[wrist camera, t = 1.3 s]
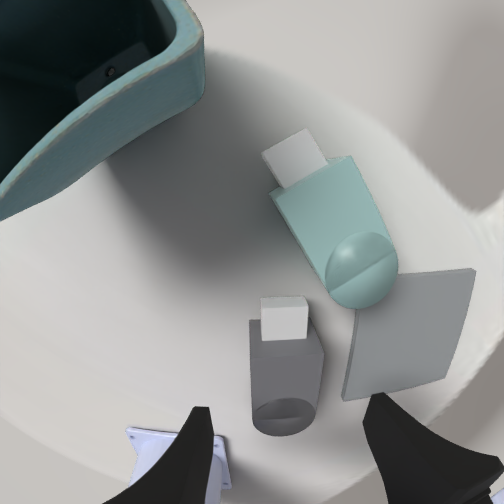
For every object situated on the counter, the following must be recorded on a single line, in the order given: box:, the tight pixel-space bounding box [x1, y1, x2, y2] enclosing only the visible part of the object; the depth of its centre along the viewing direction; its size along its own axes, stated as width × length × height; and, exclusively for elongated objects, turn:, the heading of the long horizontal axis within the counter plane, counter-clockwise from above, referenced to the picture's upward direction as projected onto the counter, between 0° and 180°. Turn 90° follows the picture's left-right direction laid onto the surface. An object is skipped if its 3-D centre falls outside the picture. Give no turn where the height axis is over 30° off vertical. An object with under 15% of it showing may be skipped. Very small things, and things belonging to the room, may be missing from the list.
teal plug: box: [261, 127, 398, 309], centre depth 12 cm, size 8×3×4 cm, turn 31°
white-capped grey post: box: [249, 296, 324, 436], centre depth 15 cm, size 8×3×4 cm, turn 1°
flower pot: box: [0, 0, 205, 221], centre depth 8 cm, size 9×9×9 cm
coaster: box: [341, 268, 476, 402], centre depth 16 cm, size 9×9×1 cm
